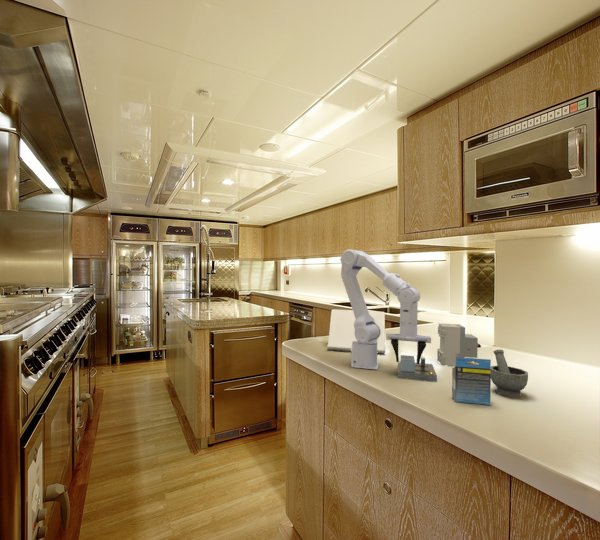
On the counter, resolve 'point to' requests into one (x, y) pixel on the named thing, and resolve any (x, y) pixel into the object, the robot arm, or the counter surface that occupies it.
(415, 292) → the robot arm
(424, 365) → the plain lever
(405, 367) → the cap
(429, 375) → the panel
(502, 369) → the mortar and pestle
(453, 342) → the circuit breaker
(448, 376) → the counter surface
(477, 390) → the label tape cartridge
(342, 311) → the tablet stand
